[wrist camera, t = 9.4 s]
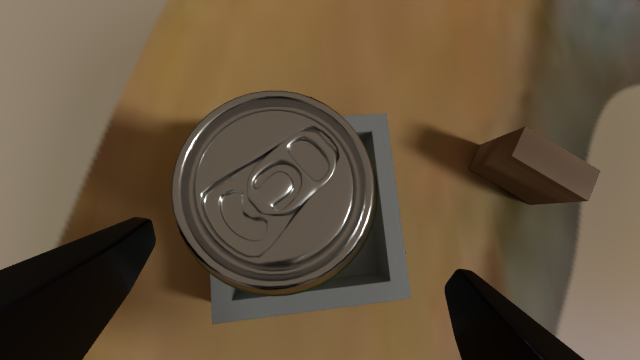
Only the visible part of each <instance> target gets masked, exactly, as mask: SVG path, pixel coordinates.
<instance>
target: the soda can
mask: <svg viewBox="0 0 640 360" xmlns="http://www.w3.org/2000/svg"><path fill="white" fill-rule="evenodd" d="M377 201H378V189H377V178H376V174H375V169H374V165H373V162H372V160H371V157H370V155H369V152H368V150H367V148H366V147H365V145H364V143H363V142H362V140H361V138H360V137H359V136H358V134H357V133H356V131H355V130H354V129H353V128H352V126H351V125H350V124H349V123H348V122H347V121H346V120H345V119H344V118H343V117H342V116H341V115H340V114H339V113H338V112H336V111H335V110H333V109H332V108H330V107H329V106H327V105H326V104H324V103H322V102H320V101H318V100H316V99H314V98H312V97H308V96H305V95H302V94H299V93H293V92H287V91H262V92H255V93H250V94H247V95H243V96H240V97H237V98H235V99H233V100H231V101H228V102H226V103H224V104H222V105H221V106H219V107H218V108H216V109H215V110H213V111H212V112H210V113H209V114H208V115H207V116H206V117H205V118H204V119H203V120H202V121H201V122H200V123H198V125H197V126H196V127H195V129H194V130H193V131H192V132H191V134H190V135H189V136H188V138H187V140H186V141H185V143H184V145H183V147H182V149H181V151H180V153H179V156H178V159H177V161H176V164H175V169H174V174H173V179H172V203H173V210H174V215H175V218H176V221H177V225H178V228H179V230H180V233H181V236H182V238H183V240H184V242H185V244H186V246H187V247H188V249H189V251H190V252H191V253H192V255H193V256H194V257H195V259H196V260H197V261H198V263H199V264H200V265H201V266H202V267H204V268H205V269H206V270H207V271H208V272H209V273H210V274H211V275H213V276H214V277H215V278H217V279H218V280H220V281H221V282H223V283H224V284H227V285H229V286H231V287H233V288H235V289H237V290H240V291H243V292H247V293H251V294H254V295H262V296H272V297H273V296H289V295H294V294H298V293H303V292H306V291H309V290H311V289H314V288H316V287H319V286H321V285H323V284H324V283H326V282H328V281H329V280H331V279H333V278H334V277H336V276H337V275H338V274H339V273H341V272H342V271H343V270H344V269H345V268H346V267H348V266H349V264H350V263H351V262H352V261H353V260H354V259H355V257H356V256H357V255H358V254H359V252H360V251H361V249H362V247H363V246H364V244H365V243H366V241H367V239H368V236H369V234H370V232H371V229H372V227H373V223H374V219H375V215H376V211H377Z"/></svg>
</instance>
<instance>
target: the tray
mask: <svg viewBox="0 0 640 360" xmlns="http://www.w3.org/2000/svg"><path fill="white" fill-rule="evenodd" d="M342 117H343V118H344V119H345V120H346V121H347V122H348V123H349V124H350V125H351V126H352V128H353V129H354V130H355V131H356V133H357V134H358V136H359V137H360V138H361V140H362V142H363V143H364V145H365V147H366V148H367V150H368V152H369V155H370V157H371V160H372V162H373V165H374V169H375V174H376V178H377V189H378V201H377V211H376V215H375V219H374V223H373V227H372V229H371V232H370V234H369V236H368V239H367V241H366V243H365V244H364V246H363V247H362V249H361V251H360V252H359V254H358V255H357V256H356V257H355V259H354V260H353V261H352V262H351V263H350V264H349V266H348V267H346V268H345V269H344V270H343V271H342V272H341V273H339V274H338V275H337V276H336V277H334V278H333V279H331V280H329V281H328V282H326V283H324V284H323V285H321V286H319V287H316V288H314V289H311V290H309V291H306V292H303V293H298V294H294V295H289V296H273V297H272V296H262V295H254V294H251V293H247V292H243V291H240V290H237V289H235V288H233V287H231V286H229V285H227V284H224V283H223V282H221V281H220V280H218V279H217V278H215V277H214V276H213V275H211V274H210V284H211V306H212V324H218V323H225V322H233V321H241V320H248V319H256V318H264V317H271V316H279V315H287V314H294V313H302V312H310V311H317V310H325V309H333V308H340V307H348V306H356V305H363V304H371V303H379V302H386V301H394V300H402V299H409V298H411V294H410V287H409V279H408V272H407V264H406V256H405V249H404V241H403V234H402V226H401V219H400V211H399V203H398V196H397V188H396V181H395V173H394V166H393V158H392V150H391V143H390V135H389V128H388V120H387V114H372V115H356V116H342Z"/></svg>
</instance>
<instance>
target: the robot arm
mask: <svg viewBox="0 0 640 360" xmlns="http://www.w3.org/2000/svg"><path fill="white" fill-rule="evenodd" d="M155 242H156V237H155V233H154V229H153V224H152V221H151V220H150V219H147V218H141V217H134V218H131V219H128V220H126V221H123V222H121V223H118V224H116V225H113V226H111V227H108V228H106V229H103V230H101V231H98V232H95V233H93V234H90V235H88V236H85V237H83V238H80V239H78V240H75V241H73V242H70V243H68V244H65V245H63V246H60V247H58V248H55V249H52V250H50V251H47V252H45V253H42V254H40V255H37V256H35V257H32V258H30V259H27V260H25V261H22V262H20V263H17V264H15V265H12V266H9V267H7V268H4V269H2V270H0V360H82V359H83V358H84V356H85V355H86V353H87V352H88V351H89V349H90V348H91V346H92V345H93V344H94V342H95V341H96V339H97V338H98V336H99V335H100V334H101V332H102V331H103V329H104V328H105V326H106V325H107V324H108V322H109V321H110V319H111V318H112V316H113V315H114V314H115V312H116V311H117V309H118V308H119V306H120V305H121V304H122V302H123V301H124V299H125V298H126V296H127V295H128V293H129V292H130V290H131V288H132V287H133V285H134V283H135V281H136V280H137V278H138V276H139V274H140V272H141V270H142V269H143V267H144V265H145V263H146V261H147V259H148V258H149V256H150V254H151V252H152V250H153V248H154V246H155ZM445 296H446V301H447V305H448V310H449V314H450V319H451V323H452V328H453V332H454V336H455V340H456V343H457V346H458V349H459V352H460V355H461V358H462V360H584V359H583V358H582V357H580V356H579V355H578V354H577V353H575V352H574V351H573V350H572V349H570V348H569V347H568V346H567V345H565V344H564V343H563V342H561V341H560V340H559V339H558V338H556V337H555V336H554V335H553V334H551V333H550V332H549V331H548V330H546V329H545V328H544V327H542V326H541V325H540V324H539V323H537V322H536V321H535V320H534V319H532V318H531V317H530V316H528V315H527V314H526V313H525V312H523V311H522V310H521V309H520V308H518V307H517V306H516V305H515V304H513V303H512V302H511V301H509V300H508V299H507V298H506V297H504V296H503V295H502V294H501V293H499V292H498V291H497V290H496V289H494V288H493V287H492V286H490V285H489V284H488V283H487V282H485V281H484V280H483V279H482V278H480V277H479V276H478V275H477V274H475V273H474V272H472V271H470V270H465V269H457V270H456V271H455V272H454V274H453V275H452V276H451V278H450V279H449V280H448V282H447V283H446V285H445Z"/></svg>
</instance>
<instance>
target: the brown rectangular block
mask: <svg viewBox="0 0 640 360" xmlns="http://www.w3.org/2000/svg"><path fill="white" fill-rule="evenodd" d="M469 169H470V170H472V171H474V172H476V173H477V174H479V175H481V176H482V177H484V178H486V179H487V180H489V181H491V182H493V183H494V184H496V185H498V186H499V187H501V188H503V189H504V190H506V191H508V192H510V193H511V194H513V195H515V196H516V197H518V198H520V199H521V200H523V201H525V202H527V203H528V204H530V205H535V204H550V203H565V202H581V201H588V200H589V198H590V195H591V193H592V191H593V188H594V186H595V183H596V181H597V178H598V175H599V173H600V170H598V169H596V168H595V167H593V166H591V165H590V164H588V163H586V162H585V161H583V160H581V159H580V158H578V157H576V156H574V155H573V154H571V153H569V152H568V151H566V150H564V149H563V148H561V147H559V146H558V145H556V144H554V143H552V142H551V141H549V140H547V139H546V138H544V137H542V136H541V135H539V134H537V133H536V132H534V131H532V130H530V129H529V128H527V127H523V128H521V129H518V130H516V131H513V132H511V133H508V134H506V135H503V136H501V137H498V138H496V139H493V140H491V141H488V142H486V143H484V144H481V145H480V147H479V149H478V151H477V153H476V155H475V157H474V159H473V161H472V163H471V165H470V167H469Z"/></svg>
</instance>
